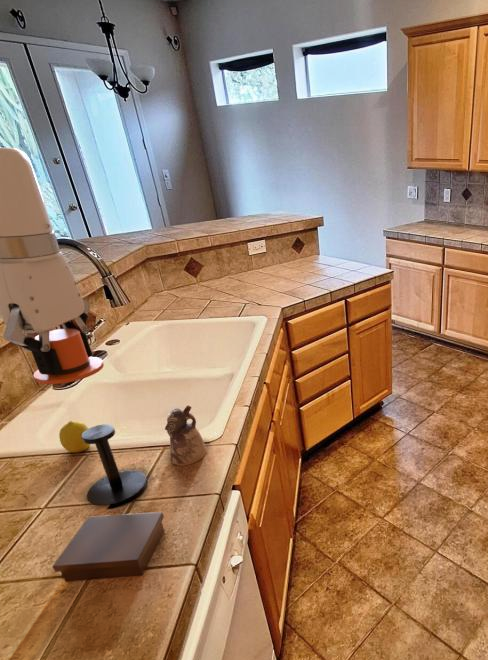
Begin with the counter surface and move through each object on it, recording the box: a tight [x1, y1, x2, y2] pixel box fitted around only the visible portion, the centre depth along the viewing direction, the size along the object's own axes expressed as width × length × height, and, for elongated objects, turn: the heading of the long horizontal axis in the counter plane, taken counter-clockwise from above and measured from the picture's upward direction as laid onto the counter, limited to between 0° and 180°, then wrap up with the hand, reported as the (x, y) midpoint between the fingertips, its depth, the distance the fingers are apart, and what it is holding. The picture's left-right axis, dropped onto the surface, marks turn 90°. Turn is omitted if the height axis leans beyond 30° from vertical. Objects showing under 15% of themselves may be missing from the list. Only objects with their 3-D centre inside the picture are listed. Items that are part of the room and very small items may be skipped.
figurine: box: [164, 405, 206, 467], centre depth 92 cm, size 7×7×12 cm
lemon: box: [58, 420, 91, 453], centre depth 93 cm, size 6×6×8 cm
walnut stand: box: [52, 511, 165, 583], centre depth 70 cm, size 12×10×4 cm
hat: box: [33, 328, 105, 385], centre depth 67 cm, size 9×9×6 cm
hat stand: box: [82, 423, 149, 510], centre depth 81 cm, size 10×10×14 cm
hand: (67, 363), depth 67 cm, fingers closed on hat, 5 cm apart
